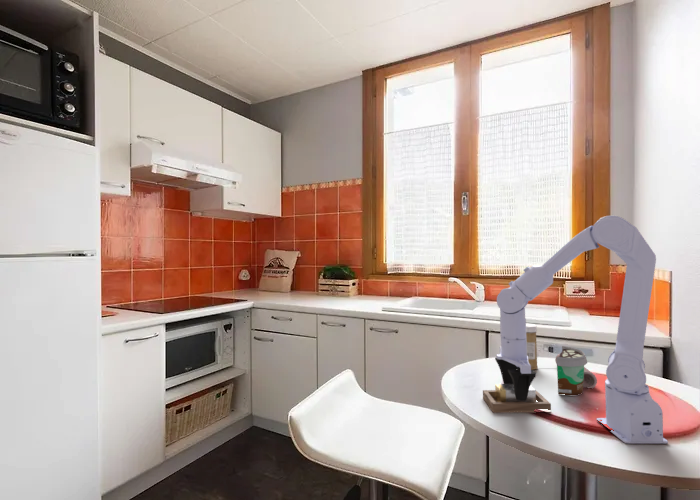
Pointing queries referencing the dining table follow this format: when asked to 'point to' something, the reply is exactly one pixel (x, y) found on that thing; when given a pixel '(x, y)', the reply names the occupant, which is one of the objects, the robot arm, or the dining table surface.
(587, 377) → the coil
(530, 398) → the white yellow block
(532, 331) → the sprinkles bottle
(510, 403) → the wooden tray
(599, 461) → the dining table surface
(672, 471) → the dining table surface
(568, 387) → the food container
